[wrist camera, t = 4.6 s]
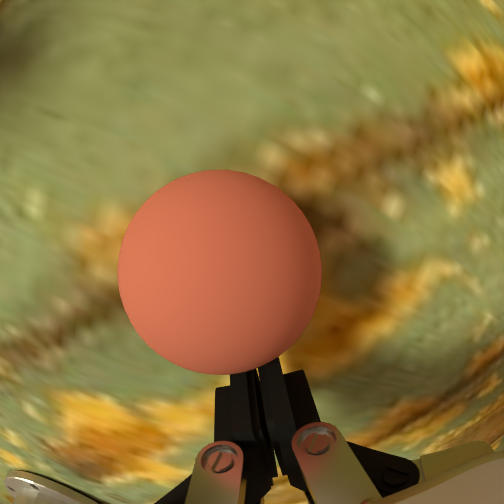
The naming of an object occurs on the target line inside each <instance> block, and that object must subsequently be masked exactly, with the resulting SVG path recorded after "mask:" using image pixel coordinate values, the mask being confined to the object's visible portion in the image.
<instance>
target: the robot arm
mask: <svg viewBox="0 0 504 504" xmlns="http://www.w3.org/2000/svg"><path fill="white" fill-rule="evenodd" d="M258 372H259V377H258V373H257V370H256V368H255V369H253V370H249V371H246V372H241V373H236V374H230V386H224V387H218V388H216V390H215V423H214V443H211V444H208V445H207V446H205V447H204V448H203V449H202V450H201V451H200V452H199V453H198V455H197V457H196V460H195V464H194V468H193V473H192V474H191V475H190V476H189V477H188V478H186V479H185V480H184V481H183V482H182V483H180V484H179V485H178V486H177V487H175V488H174V489H173V490H171V491H170V492H169V493H168V494H166V495H165V496H164V497H162V498H161V499H160V500H158V501H157V502H156V503H154V504H264V502H265V501H264V496H265V495H266V493H267V492H268V491H269V490H270V489H271V486H273V479H272V478H273V477H278V473H277V467H276V461H275V455H274V451H275V454H276V457H277V460H278V463H279V466H280V469H281V472H282V475H283V476H284V475H288V479H289V482H290V485H292V486H294V487H296V488H298V489H300V490H302V491H303V493H304V495H305V498H306V500H307V502H308V504H504V451H500V452H495V453H494V451H493V449H492V447H491V446H490V445H489V444H488V443H486V442H484V441H479V440H478V441H472V442H469V443H466V444H463V445H459V446H456V447H453V448H449V449H446V450H442V451H439V452H435V453H431V454H427V455H423V456H420V459H416V460H412V461H411V460H408V459H406V458H402V457H398V456H395V455H391V454H387V453H384V452H380V451H377V450H373V449H370V448H367V447H363V446H360V445H357V444H354V443H351V442H348V441H346V440H345V439H344V437H343V436H342V434H341V432H340V431H339V430H338V429H337V428H336V427H335V426H333V425H331V424H330V423H325V422H321V421H320V418H319V415H318V412H317V409H316V406H315V403H314V400H313V397H312V394H311V391H310V388H309V385H308V382H307V379H306V376H305V373H304V371H303V370H299V371H295V372H291V373H287V374H283V373H282V369H281V365H280V361H279V357H277V358H275V359H274V360H272V361H270V362H268V363H266V364H265V365H263V366H260V367H258ZM259 379H260V380H259ZM273 448H274V449H273ZM4 484H5V486H6V488H7V490H8V491H9V493H10V494H11V495H12V496H13V497H14V498H15V499H14V502H13V504H99V503H97V502H95V501H94V500H92V499H90V498H88V497H86V496H84V495H82V494H80V493H78V492H76V491H74V490H72V489H70V488H68V487H65V486H63V485H61V484H58V483H56V482H54V481H51V480H49V479H46V478H44V477H41V476H38V475H35V474H32V473H28V472H24V471H17V470H14V471H9V472H8V473H7V475H6V478H5V480H4Z"/></svg>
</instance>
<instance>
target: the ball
mask: <svg viewBox="0 0 504 504" xmlns="http://www.w3.org/2000/svg"><path fill="white" fill-rule="evenodd" d="M321 283H322V263H321V256H320V250H319V247H318V243H317V240H316V237H315V235H314V232H313V230H312V228H311V225H310V224H309V222H308V220H307V219H306V217H305V215H304V214H303V212H302V211H301V210H300V209H299V207H298V206H297V205H296V204H295V202H294V201H292V200H291V199H290V198H289V197H288V196H287V195H286V194H285V193H284V192H282V191H281V190H280V189H278V188H277V187H275V186H274V185H272V184H270V183H268V182H266V181H264V180H263V179H261V178H258V177H256V176H253V175H250V174H247V173H243V172H237V171H231V170H208V171H201V172H196V173H192V174H189V175H186V176H184V177H181V178H179V179H176V180H174V181H172V182H170V183H169V184H167V185H165V186H164V187H162V188H161V189H159V190H158V191H157V192H155V193H154V194H153V195H152V196H151V197H150V198H149V199H148V200H147V201H146V202H145V203H144V204H143V205H142V206H141V208H140V209H139V210H138V211H137V213H136V214H135V216H134V217H133V219H132V221H131V222H130V224H129V226H128V228H127V231H126V233H125V235H124V238H123V241H122V245H121V249H120V252H119V260H118V284H119V291H120V296H121V299H122V302H123V306H124V309H125V311H126V313H127V315H128V317H129V320H130V322H131V323H132V325H133V326H134V328H135V330H136V331H137V333H138V334H139V335H140V336H141V338H142V339H143V340H144V341H145V342H146V343H147V345H149V346H150V347H151V348H152V349H153V350H154V351H155V352H157V353H158V354H159V355H161V356H162V357H164V358H165V359H167V360H169V361H170V362H172V363H174V364H176V365H178V366H180V367H183V368H185V369H188V370H192V371H195V372H199V373H204V374H216V375H228V374H236V373H241V372H246V371H249V370H253V369H255V368H258V367H260V366H263V365H265V364H266V363H268V362H270V361H272V360H274V359H275V358H277V357H278V356H280V355H281V354H282V353H283V352H285V351H286V350H287V349H288V348H289V347H291V346H292V345H293V343H294V342H295V341H296V340H297V339H298V338H299V337H300V335H301V334H302V333H303V331H304V330H305V328H306V327H307V325H308V324H309V322H310V320H311V318H312V315H313V313H314V311H315V309H316V306H317V303H318V299H319V296H320V290H321Z"/></svg>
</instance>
